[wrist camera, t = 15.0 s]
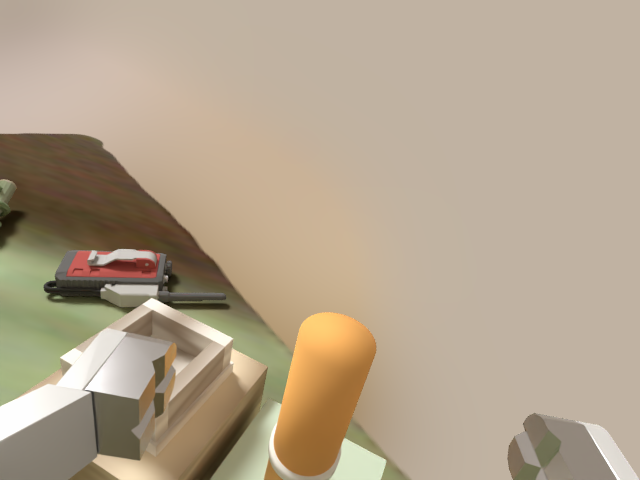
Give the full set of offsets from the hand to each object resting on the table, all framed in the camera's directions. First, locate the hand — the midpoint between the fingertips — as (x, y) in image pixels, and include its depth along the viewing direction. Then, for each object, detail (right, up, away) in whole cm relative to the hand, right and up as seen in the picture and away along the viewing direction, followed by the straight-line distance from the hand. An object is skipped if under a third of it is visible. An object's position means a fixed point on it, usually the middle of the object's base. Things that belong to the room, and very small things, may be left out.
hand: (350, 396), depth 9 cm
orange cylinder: (-2, -13, +17) cm, 21 cm away
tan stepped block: (-14, -14, +23) cm, 30 cm away
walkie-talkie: (-23, -3, +41) cm, 47 cm away
